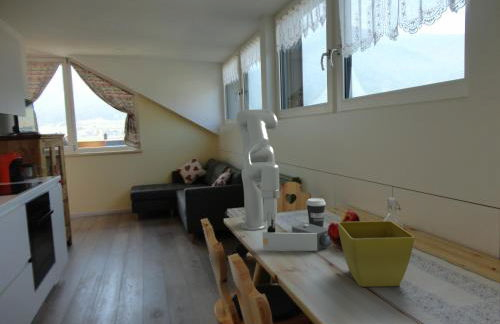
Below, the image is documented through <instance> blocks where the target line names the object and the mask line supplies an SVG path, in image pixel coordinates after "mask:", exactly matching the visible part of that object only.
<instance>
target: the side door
mask: <svg viewBox="0 0 500 324" xmlns="http://www.w3.org/2000/svg"><path fill="white" fill-rule="evenodd" d="M262 249H263V250H264V251H267V250H268V251H269V250H270V251H304V252H306V251H309V252H310V251H311V252H312V251H314V252H317V251H318V250H317V233H292V232H275V233H270V232H267V231H266V232H262Z"/></svg>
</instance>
